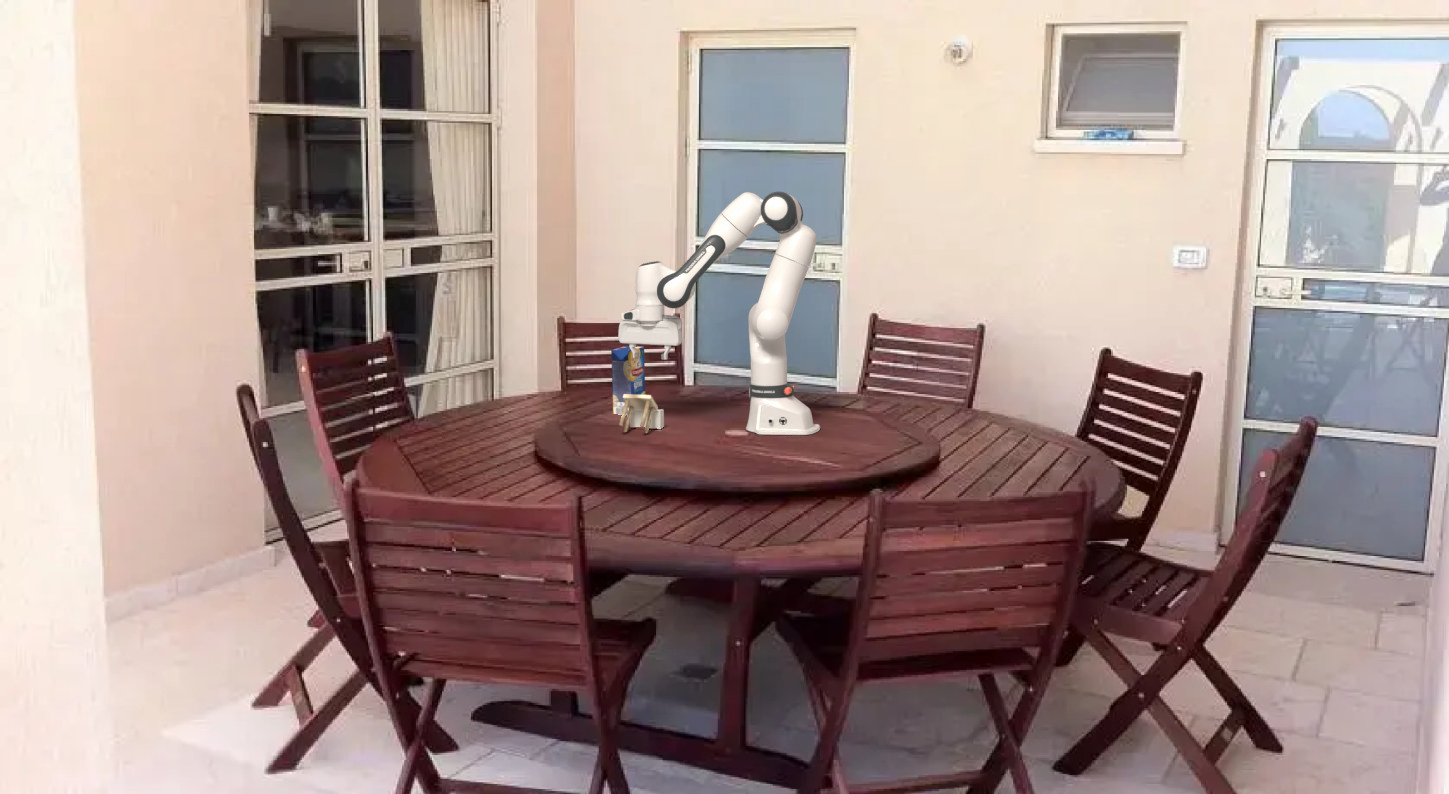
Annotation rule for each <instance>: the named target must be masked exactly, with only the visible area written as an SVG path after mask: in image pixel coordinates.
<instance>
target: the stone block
mask: <svg viewBox="0 0 1449 794" xmlns="http://www.w3.org/2000/svg"><path fill="white" fill-rule="evenodd" d="M649 411H650V410H648V413H647V417H646V421H645V424H644V427H646V423H647V419H648V415H649ZM664 411H665V410H664V408H661V409H659V408H658V409H657V410H654V411H653V415H652V419H651V423H650V427H649V428H657V429H661V428H663V427H664V428H665V412H664ZM643 412H644V410H637V409H633V412H632V415H631V419H630V423H629V427H640V424H641V420H642V416H643Z"/></svg>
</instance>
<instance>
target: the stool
mask: <svg viewBox="0 0 1449 794" xmlns="http://www.w3.org/2000/svg"><path fill="white" fill-rule="evenodd" d="M623 399H624V400H625V404H624V408H623V412H622V416H621V418H620V420H619V424H618V426H619V427H624V428H623V430H622V431H623V433H624V432H627V433H628V431H629V427H630V419H631V415H632V412H633V409H637V410H644V412H643V416H642V420H641V424H640V427H644V424H645V421H646V417H647V413H648V410H650V411H649V415H648V419H647V423H646V427H645V430H644V432H643V434H645V433H648V434H649V431H650V430H649V427H650V423H651V419H652V415H653V411H654V410H657V409H659V407H658V406H659V405H658V404H657V402H656V400H655V399H654V397H653V395H651V394H645V395H635V394H624V395H623ZM628 407H629V411H628V415H627V418H625V416H626V412H627V408H628ZM624 423H625V424H624Z"/></svg>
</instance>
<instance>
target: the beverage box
mask: <svg viewBox="0 0 1449 794" xmlns="http://www.w3.org/2000/svg"><path fill="white" fill-rule="evenodd" d="M635 349H636V351H637V352H639V356H640V357H639V358H633V353H632V351H631V349H630V347H629V345H627V346H626V345H624V346H622V347H617V348H614V349H611V350H610V351H611V354H610V355H611V359H610V360H611V386H612V415H613V414H618V415H622V412H623V408H624V404H625V400H624V399H623V395H624V394H635V395H646V376H645V375H646V374H645V373H646V372H645V370H646V367H645V365H646V364H645V363H646V362H645V346H638V345H636V347H635ZM628 411H629V407H628V408H627V412H626V415H628Z"/></svg>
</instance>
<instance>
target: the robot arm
mask: <svg viewBox="0 0 1449 794" xmlns="http://www.w3.org/2000/svg"><path fill="white" fill-rule="evenodd" d="M803 218H804V211H803V207H802V205H801V203H800V202H799V201H798V200H797V199H796V198H795V196H793V195H791V194H789V193H787V192H784V191H774V192H773V191H772V192H771V193H769V194H768V195H767V196H765V197H764V198H763V199H762V198H761V197H760V196H759V195H757V194H756V193H754V192H750V191H746V192H743V193H741V194H740V195H738V196H737V197H736V198H735V199H733V200H732V201H731V202H730V203H729V204H728V205H727V206H726V207H725V208H724V209H723V210H722V211H721V212H720V213H719V214H718V216H717V217H716V219H714V221H713V222H712V224H711V226H710V227H709V229H708V231H707V232H706V234H705V236H704V238H703V239H702V241H701V243H700V245H699V246H698V248H697V249H696V250H695V252H693V254H691V256H690V257H689V258H688V259H687V260H686V261H685V262H684V263H683V264H682V265H681V267H680V268H678V269H677V270H675V269H673V268H671V267H669V266H667V265H666V264H664V263H663V262H662V261H659V260H656V261H649V262H645V263H642V264H640V265H639V266H638V267H637V269H636V273H635V293H636V301H635V308H633V309H630V310H628V311H625V312H622V313H621V314H620V319H621V321H620V322H619V325H618V336H617V338H618V341H619V343H620V344H628V346H629V347H630V349H631V351H632V353H633V358H639V357H640V356H639V352H637V351H636V349H635V347H636V346H637V345H653V346H654V345H655V346H664V349H665V351H664V353H661V355H660V356H661V357H660V359H661V361H663V360H664V361H667V360H668V357H669V356H668V355H669V353H670V351H671V350H672V346H674V347H677V346H680V345H681V344H682V343H683V335H682V334H683V333H682V327H683V326H682V324H683V323H682V319H681V318H680V317H679V316H677V315H676V314H674V315H671V314H670V315H669V314H665V307H666V308H669V309H679V308H681V307H684V305H685V304H686V303H687V302H688V301H689V300H691V298H692V297H693V296H694V294H695V291H696V286H695V285H696V283H697V281H699V280H700V278H701V277H702V276H703V275H704V274H705V273H706V272H707V271H708V270H709V268H710V267H712V265H713V264H715V263H716V262H717V261H718V260H720V259H722V258H723V257H725V256H727V255H729V254H730V253H732V252H734V251H735V250H736V249H738V248H739V247H740V246H741V245H742V244H743V243H744V242H745V241H747V239H748V238H749V237H750V236H751V235H752V233H753V232H755V230H756V229H757V228H759V227H760V226H762V225H766V226H768V227H770V228H771V229H772V230H774V231H775V232H776V233H778V234H779V242H778V245H777V247H776V250H775V254H774V255H773V257H772V261H771V263H770V265H769V268H768V270H767V274H766V276H765V277H764V278H765V279H764V283H763V287H762V289H761V293H760V296H759V298H758V302H756V303H754V304H753V306H752V307H751V309H750V310H749V313H748V336H749V337H748V340H749V341H748V342H749V353H750V354H749V355H750V383H749V388H748V393H749V394H748V396H749V402H750V403H749V404H750V405H749V414H748V420H747V424H746V427H745V430H746V431H748V432H752V433H756V435H772V436H773V435H776V436H777V435H781V436H782V435H784V436H785V435H786V436H788V435H789V436H791V435H792V436H806V435H813V434H816V433H818V432H819V431H820V429H821V426H820V424H818V423H814V420H813V415H812V410H811V409H810V408H809V407H808V406H807V405H806V404H804V403H803V402H802V401H800V399H798V398H796V396H794V390H795V385H791V384H790V383H788V356H787V346H786V345H787V344H786V333H787V332H788V329H789V326H790V325H791V324H790V323H791V320H792V318H793V314H794V312H795V311H794V310H795V308H796V304H797V302H798V298H799V294H800V291H801V289H802V286H803V283H804V281H805V278H806V276H807V273H808V271H809V268H810V265H811V263H812V260H813V257H814V253H815V250H816V244H817V240H818V239H817V234H816V232H815V231H814V230H813V228H811V227H810V226H808V225H806V224H804V223H803V222H802V220H803Z"/></svg>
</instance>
